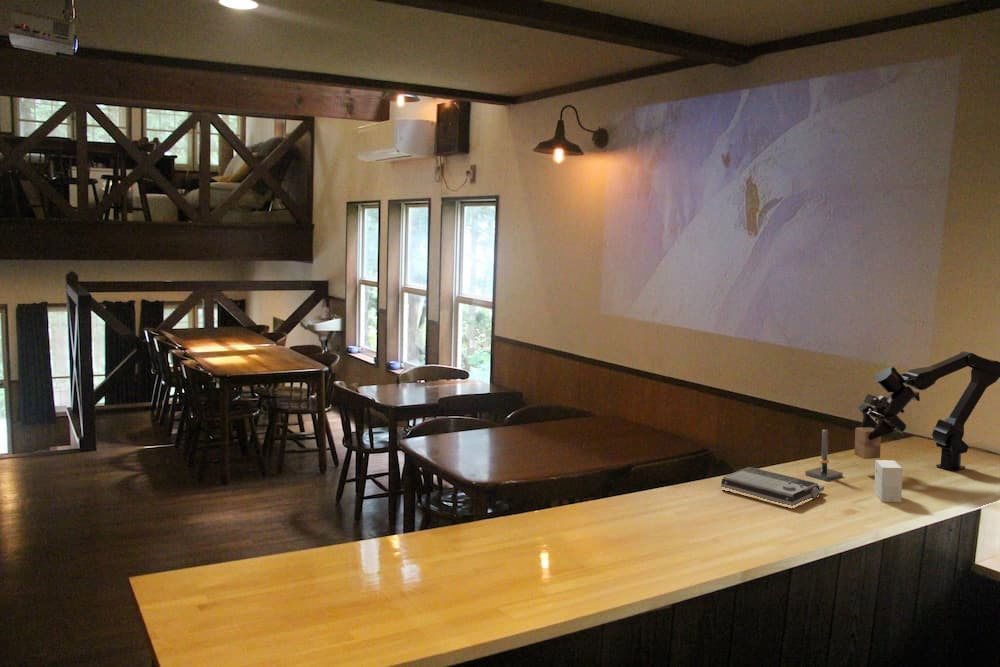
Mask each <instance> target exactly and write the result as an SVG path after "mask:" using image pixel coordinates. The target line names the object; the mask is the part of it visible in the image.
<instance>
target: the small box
mask: <svg viewBox="0 0 1000 667" xmlns="http://www.w3.org/2000/svg"><path fill="white" fill-rule="evenodd" d="M902 492H903V467H902V466H901V465H900V464H899V463H898V462H897V461H896V460H890V459H889V460H884V459H883V460H882V459H877V460H875V464H874V494H875V496H876V497H877V496H878V497H877V498H878V499H879V500H880V501H881V502H883V503H902V495H903V494H902Z"/></svg>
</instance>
